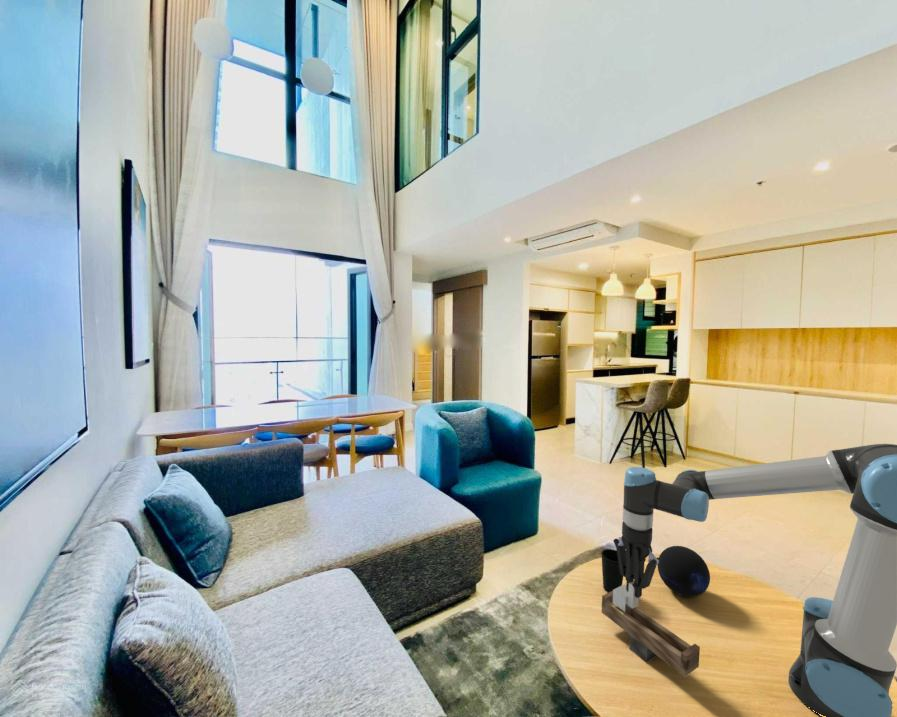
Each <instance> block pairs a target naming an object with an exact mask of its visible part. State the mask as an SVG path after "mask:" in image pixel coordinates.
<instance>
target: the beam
mask: <svg viewBox="0 0 897 717" xmlns="http://www.w3.org/2000/svg"><path fill="white" fill-rule="evenodd" d="M601 613H602V615H604V616H606V617H607V618H608V619H609V620H610V621H612V622H613V623H614V624H616V625H617V626H618V627H620V628H621V629H623V630H624V632H626V633H627V634H629V648H628V649H629V650H630V651H631V652H632V653H634V654H635V655H636V656H637V657H638V658H640V659H641V660H642V661H644V662H645V663H646V664H647V663H649V662H650V661H651V660H654V659H655V658H656V657H658V658H660V659H661V660H662V661H664V662H665V663H666V664H667V665H669V666H670V667H672V668H673V669H674V670H675V671H677V672H678V673H679V674H681V675H682V676H683V677H684V678H686V677H687V676H690V674H691V673H693V672H694V671H695V670H696V669H698V668H699V667H700V652H701V651H700V650H701V649H700V648H701V647H700V646H699V645H698V644H696V643H693V644H692V645H691V644H690V643H688V642H687V641H685V640H684V639H682V638H681V637H680V636H678V635H676V634H675V633H673V632H672V631H671V630H669V629H668V628H666V627H665V626H663V624H661V623H659V622H658V621H656V620H655V619H653V618H652V617H650V616H649V615H647V614H646V613H645V612H643V611H642V610H640V609H639V608H637V606H636V607H635V608H633V609H632V608H631V615H629V614H627V613H626V612H624V611H623V610H622V609H620V608H619V607H618V606H616V605H615V604H613V591H611V592H609V593H608V592H606V593H604V594H603V595H602V596H601Z"/></svg>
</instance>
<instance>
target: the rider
mask: <svg viewBox="0 0 897 717" xmlns="http://www.w3.org/2000/svg"><path fill="white" fill-rule="evenodd" d="M613 604H615V605H616V606H618V607H619V608H620V609H622V610H623V611H624V612H626V613H627V614H629V615H631V607H630V606H628V592H627V590H626V583H625V584H622V586H620V587H618V588H616V589H614V590H613Z"/></svg>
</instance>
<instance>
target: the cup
mask: <svg viewBox="0 0 897 717" xmlns="http://www.w3.org/2000/svg"><path fill="white" fill-rule="evenodd" d="M600 554H601V570H602V588H603V590H604V591H605V592H606V593H609V592H611V591H613V590H614V589H616V588H618V587H620V586H622V585H623V581H624V576H622V575H621V574H620V569H619V563H618V556H617V550H616V549H613V548H607V549H603V550H602V551H601V552H600Z"/></svg>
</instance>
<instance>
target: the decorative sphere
mask: <svg viewBox="0 0 897 717" xmlns="http://www.w3.org/2000/svg"><path fill="white" fill-rule="evenodd" d="M658 558H660V560H661V562H660V563H659V564H658V565H657V570H658V574H659V577H660V579H661V581H662V582H663V584H664V585H666V588H667V587H668V589H669V590H671V592H672V591H673V592H674V593H675V594H677V595H679V596H682V597H687V598H695V597H698V596H701V595H703V594H705V593H706V591H707V589H708V588H709V586H710V583H711V574H710V570H709V567H708V565H707V563H706V561H705V560H704V559H703V557H702V556H701V555H699V553H697V552H696V551H695V550H692V549H691V548H688V547H686V546H683V545H672V546H668V547H667V548H665V549H664V550H663V551H661V553H660V555H659V556H658Z"/></svg>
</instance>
